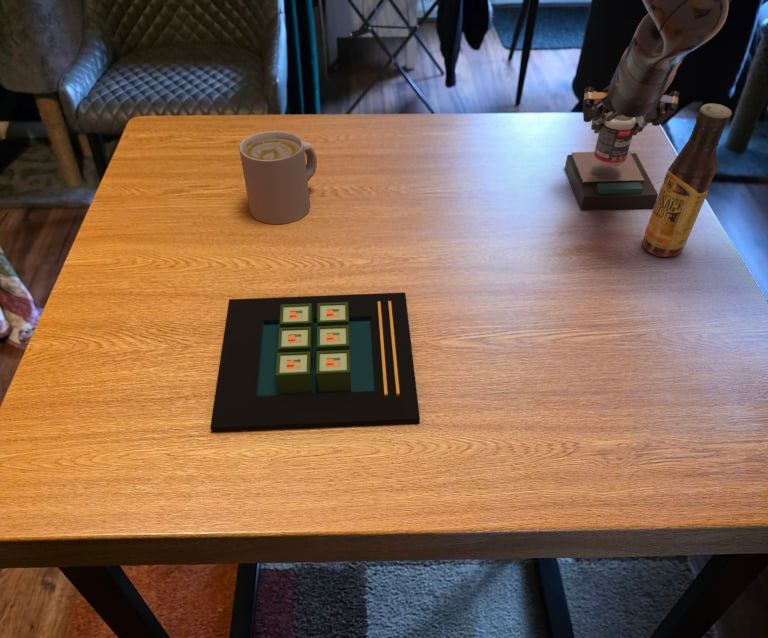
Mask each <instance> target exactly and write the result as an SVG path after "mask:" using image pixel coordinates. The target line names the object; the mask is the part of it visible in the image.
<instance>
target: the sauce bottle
mask: <svg viewBox="0 0 768 638" xmlns="http://www.w3.org/2000/svg"><path fill="white" fill-rule="evenodd" d="M732 115H733V112H732V110H731V109H730V108H729V107H727V106H725V105H723V104H719V103H706V104H703V105H701V106H700V108H699V110H698V112H697V114H696V117H695V124H694V127H693V129H692V131H691V134H690V136H689V138H688V140H687V142H686V143H685V144H684V146H683V147H682V149H681V150H680V151H679V153H678V155H677V156H676V157H675V159H674V160H673V162H672V163H671V165H670V166H669V167H668V169H667V171H666V174H665V177H664V179H663V182H662V185H661V187H660V190H659V193H658V196H657V199H656V202H655V205H654V208H653V209H652V211H651V215H650V218H649V219H648V223H647V225H646V228H645V230H644V235H643V239H642V244H643V248H644V250H645V251H646V252H648V253H650V254H652V255H654V256H656V257H658V258H671V257H672V258H673V257H676V256H678V255H679V254H680V253H681V252H682V251H683V249H684V247H685V246H686V244H687V242H688V239H689V237H690V236H691V233H692V230H693V228H694V225H695V223H696V220H697V219H698V216H699V214H700V211H701V209H702V207H703V204H704V202H705V200H706V198H707V195H708V194H709V191H710V188H711V185H712V183H713V179H714V177H715V176H716V172H717V170H718V168H719V162H718V161H719V160H718V157H717V156H718V155H717V149H718V146H719V145H720V140H721V137H722V135H723V133H724V130H725V128H726V127H727V126H728V125H729V123H730V120H731V117H732Z"/></svg>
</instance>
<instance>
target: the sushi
mask: <svg viewBox="0 0 768 638" xmlns="http://www.w3.org/2000/svg"><path fill="white" fill-rule="evenodd" d="M224 325H225V326H224V331H223V338H222V345H221V352H220V357H219V358H220V359H219V366H218V371H217V379H216V387H215V394H214V400H213V407H212V412H211V413H212V414H211V420H210V427H209V428H210V432H211V433H212V434H213V433H214V434H215V433H234V432H235V433H237V432H260V431H261V432H262V431H285V430H303V429H304V430H305V429H307V430H308V429H327V428H349V427H350V428H351V427H352V428H353V427H373V426H374V427H375V426H395V425H417V424H418V425H419V424H420V423H421V422H420V421H421V417H420V416H421V415H420V408H419V400H418V399H419V397H418V391H417V382H416V373H415V364H414V356H413V348H412V347H413V346H412V340H411V330H410V321H409V313H408V304H407V295H406V292H384V293H383V292H382V293H379V292H378V293H358V294H357V293H356V294H355V293H354V294H332V295H330V294H329V295H304V296H282V297H281V296H280V297H279V296H278V297H254V298H253V297H252V298H230V299H228V304H227V311H226V317H225V324H224Z"/></svg>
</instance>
